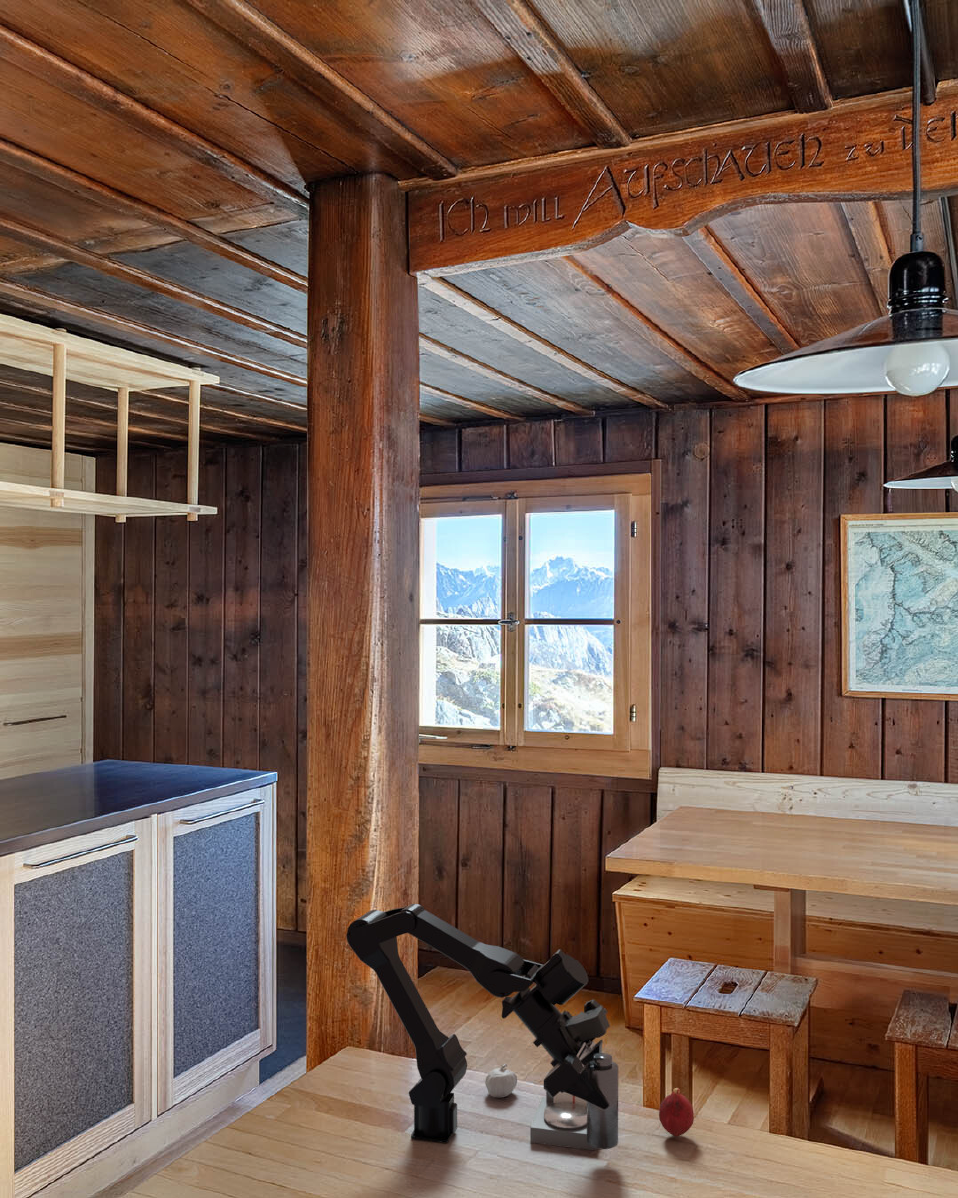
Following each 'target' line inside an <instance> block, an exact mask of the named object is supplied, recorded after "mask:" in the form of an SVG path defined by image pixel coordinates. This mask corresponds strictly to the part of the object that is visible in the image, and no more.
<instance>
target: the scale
mask: <svg viewBox="0 0 958 1198" xmlns="http://www.w3.org/2000/svg"><path fill="white" fill-rule="evenodd" d="M548 1073H549V1071H548V1072H547V1073H546V1075H545V1077H546V1076H547V1074H548ZM545 1094H546V1095H545V1096H541V1099H540V1101H539V1104H538V1106H537V1108H536V1109H537V1110H536V1112H535V1114H534V1117H533V1119H532V1122H531V1124H530V1131H529V1132H530V1134H529V1135H530V1138H529V1139H530V1141H529V1142H530V1143H534V1144H540V1145H541V1144H542V1145H549V1146H550V1145H551V1146H558V1147H566V1148H572V1149H580V1150H581V1149H583V1150H591V1151H597V1149H598V1148H595V1147H592V1146H591V1145H589V1144H588V1142H587V1125H586V1126H585V1127H582V1128H579V1129H571V1130H568V1129H559V1128H556V1127H553V1126H551V1125H549V1124H548V1123H546V1121H545V1120H544V1111H545V1109H546V1108H547V1107H549V1106H551V1105H553V1104H557V1103H574V1104H579V1105H581V1106H584V1107H585V1108H587V1101H585V1100H583V1099H581V1098H578V1097H576V1096H573V1095H571V1094H568V1093H566V1092H563V1093H561V1092H559V1093H558V1094H557V1095H555V1096H554V1097H553V1098H551V1097H550V1095H549V1094H548V1093H547V1092H546V1091H545Z"/></svg>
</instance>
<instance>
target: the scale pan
mask: <svg viewBox="0 0 958 1198" xmlns="http://www.w3.org/2000/svg"><path fill="white" fill-rule="evenodd" d="M544 1120H545V1121H546V1123H548V1124H549V1125H551V1126H553V1127H556V1128H559V1129H568V1130H571V1129H579V1128H582V1127H585V1126H586V1125H587V1108H585V1107H584V1106H581V1105H579V1104H574V1103H557V1104H553V1105H551V1106H549V1107H547V1108H546V1109H545V1111H544Z"/></svg>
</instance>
